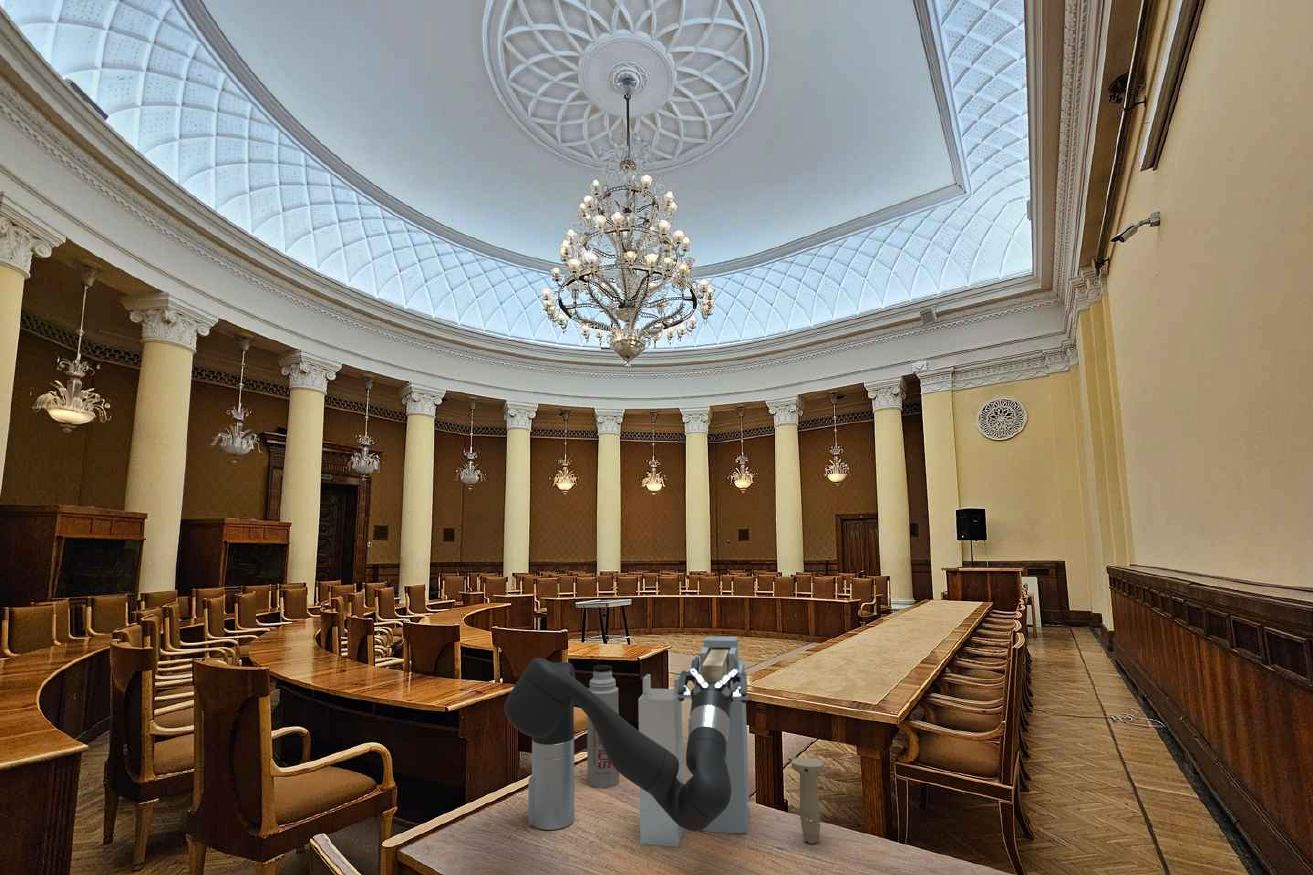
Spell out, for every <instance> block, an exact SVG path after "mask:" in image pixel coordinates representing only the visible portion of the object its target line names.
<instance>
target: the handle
mask: <svg viewBox="0 0 1313 875" xmlns="http://www.w3.org/2000/svg"><path fill="white" fill-rule="evenodd" d="M791 768H792V770H793V771H795V772H796V773H798V775H799V817H800V826H801V831H802V833H803V834H802V839H803V841H804V842H806V843H808V844H810V845H812V844H818V843H819V842H820V832H821V809H820V800H819V799H820V798H819V789H818V780H817V779H818V775H820V774H821V773H822V772H823V771H824V770H825V764H824V761H823V760H821V759H816V758H810V757H795V758H792V759H791ZM807 819H808V820H807ZM810 820H812V821H810ZM819 823H820V824H819Z"/></svg>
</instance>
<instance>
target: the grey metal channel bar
mask: <svg viewBox="0 0 1313 875" xmlns="http://www.w3.org/2000/svg"><path fill="white" fill-rule="evenodd" d="M680 675H681V674H677V675H676V676H675V678H674V679H673V688H652V680H651V677H652V676H651V674H650V673H649V674H648V673H647V674H645V676H644V677H643V678H642V694H641V695H640V697H638V700H637V701H638V702H637V703H638V731H640V732H641V733H642V734H644V735H645V736H647V737H648V738H650V739H651V740H653V741H654V742H656V743H657V744H659V745H661V746H662V747H664V748H665V749H667V750H668V751H669V752H671V753H672V754H673V755H675V756H676V758H677V759H678V762H679V770H678V774H677V776H676V778H677V779H678V780H679V781H680V782H681V783H682V784H685V783H684V782H685V781H684V751H683V749H684V747H683V743H684V742H683V712H682V711H683V710H682V709H683V704H682V703H683V701H679V700H678V692H677V688H678V684H679V679H680ZM639 823H640V825H639V826H640V827H639V831H640V832H639V833H640V835H639V836H640V845H646V846H657V847H659V846H661V847H670V848H671V847H673V848H679V845H680V842H681V840H682V835H683V833H684V830H685V829H684V828H682V827H680V826H679V825H678V824H676V823H675V822H674V821H673V820H672V818H671V817H670V816H669V815H668V814H667V813H666V812H665V810H664V809H663V808H662V807H661V806H660V805H659V804H658V802H657V801H656V800H655V799H654V798H653V796H652V795H651V794H650V793H648V792H646V791H645V790H643V789H642V788H640V787H639Z"/></svg>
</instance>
